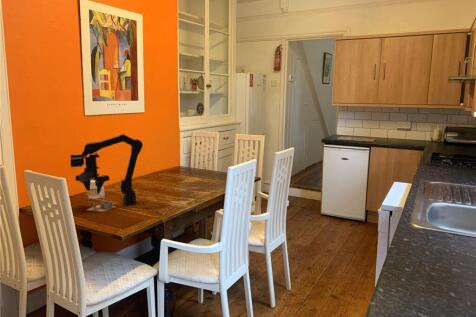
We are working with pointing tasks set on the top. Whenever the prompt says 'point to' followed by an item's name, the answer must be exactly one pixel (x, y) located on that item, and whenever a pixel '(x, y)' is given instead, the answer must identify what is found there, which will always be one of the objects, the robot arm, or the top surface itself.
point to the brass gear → (92, 192)
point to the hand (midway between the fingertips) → (93, 192)
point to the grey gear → (106, 205)
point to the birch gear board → (98, 207)
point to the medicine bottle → (93, 185)
